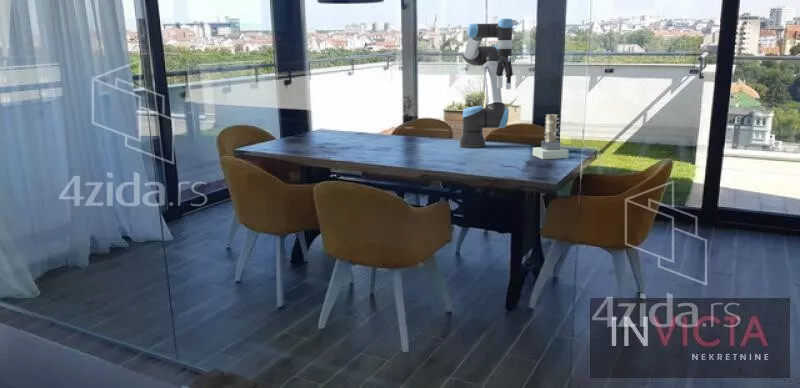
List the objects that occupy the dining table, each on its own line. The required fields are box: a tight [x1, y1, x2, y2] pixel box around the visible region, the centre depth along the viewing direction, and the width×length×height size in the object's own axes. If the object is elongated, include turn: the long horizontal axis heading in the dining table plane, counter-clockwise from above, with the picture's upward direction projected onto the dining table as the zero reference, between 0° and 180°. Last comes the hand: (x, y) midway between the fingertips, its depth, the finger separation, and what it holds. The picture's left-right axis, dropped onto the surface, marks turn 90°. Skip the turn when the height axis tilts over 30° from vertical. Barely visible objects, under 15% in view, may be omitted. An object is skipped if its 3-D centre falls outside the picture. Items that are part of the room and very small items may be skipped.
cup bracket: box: [540, 140, 561, 150], centre depth 327 cm, size 8×8×4 cm
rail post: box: [545, 113, 557, 142], centre depth 325 cm, size 4×4×18 cm
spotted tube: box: [543, 113, 562, 143], centre depth 343 cm, size 8×8×20 cm
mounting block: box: [532, 146, 570, 160], centre depth 328 cm, size 14×14×4 cm
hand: (503, 88), depth 337 cm, fingers open, 13 cm apart
